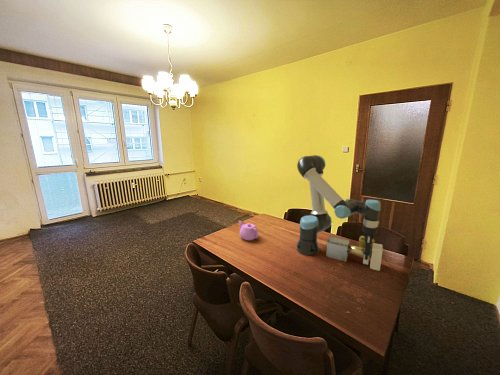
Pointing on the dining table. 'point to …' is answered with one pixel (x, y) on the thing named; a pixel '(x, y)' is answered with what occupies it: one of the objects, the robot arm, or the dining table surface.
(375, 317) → the dining table surface
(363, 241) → the mug
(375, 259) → the socket block
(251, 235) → the teapot
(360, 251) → the tube
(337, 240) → the pale grey box
